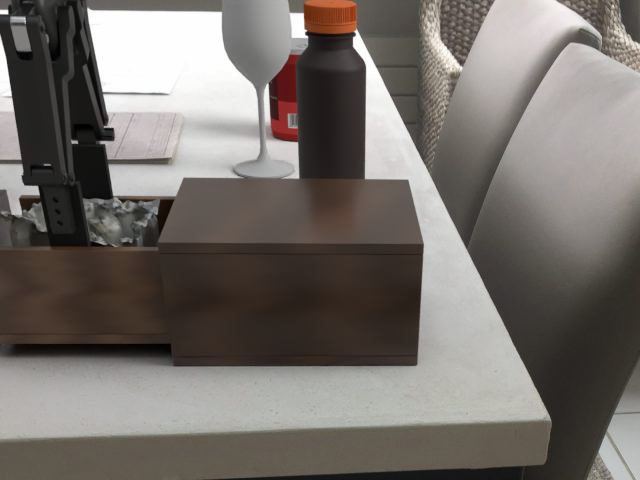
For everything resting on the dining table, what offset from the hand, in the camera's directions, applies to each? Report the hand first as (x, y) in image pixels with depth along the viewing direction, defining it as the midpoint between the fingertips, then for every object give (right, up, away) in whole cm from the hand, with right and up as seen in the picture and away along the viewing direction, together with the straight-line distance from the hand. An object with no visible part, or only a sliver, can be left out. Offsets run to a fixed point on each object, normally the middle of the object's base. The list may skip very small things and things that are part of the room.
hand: (88, 248), depth 69 cm
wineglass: (+9, +20, +38) cm, 44 cm away
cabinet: (+16, -5, +5) cm, 17 cm away
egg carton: (0, 0, 0) cm, 1 cm away
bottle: (+18, +10, +25) cm, 32 cm away
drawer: (-3, -4, +3) cm, 6 cm away
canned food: (+12, +30, +51) cm, 60 cm away
